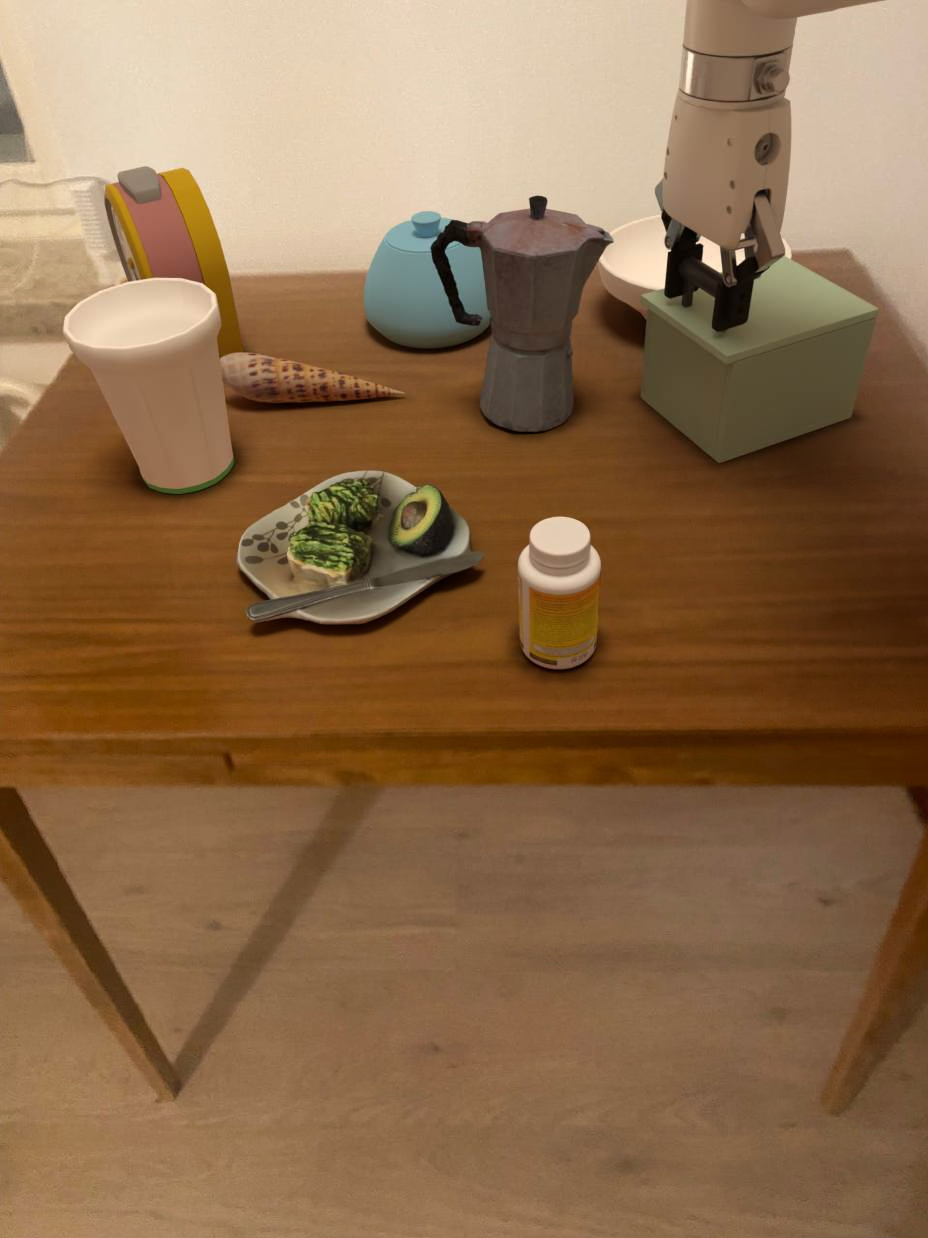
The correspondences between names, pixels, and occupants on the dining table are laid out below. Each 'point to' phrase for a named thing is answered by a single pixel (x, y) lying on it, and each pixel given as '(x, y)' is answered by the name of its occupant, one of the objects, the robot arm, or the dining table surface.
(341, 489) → the avocado toast plate
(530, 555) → the supplement bottle
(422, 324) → the sugar bowl
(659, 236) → the bowl
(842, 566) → the dining table surface
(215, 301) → the cup
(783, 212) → the robot arm
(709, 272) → the box lid
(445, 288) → the moka pot
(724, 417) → the green hinged box
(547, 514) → the dining table surface
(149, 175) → the alarm clock
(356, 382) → the seashell
